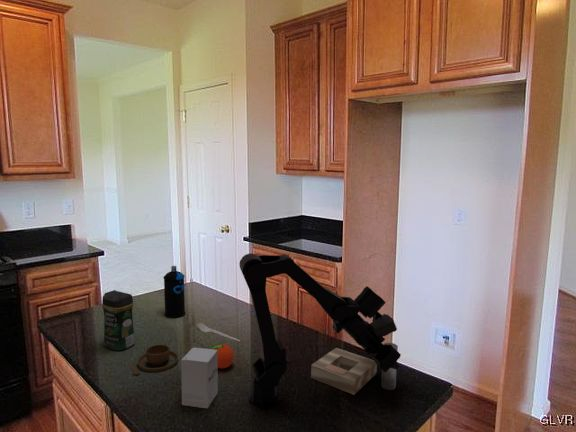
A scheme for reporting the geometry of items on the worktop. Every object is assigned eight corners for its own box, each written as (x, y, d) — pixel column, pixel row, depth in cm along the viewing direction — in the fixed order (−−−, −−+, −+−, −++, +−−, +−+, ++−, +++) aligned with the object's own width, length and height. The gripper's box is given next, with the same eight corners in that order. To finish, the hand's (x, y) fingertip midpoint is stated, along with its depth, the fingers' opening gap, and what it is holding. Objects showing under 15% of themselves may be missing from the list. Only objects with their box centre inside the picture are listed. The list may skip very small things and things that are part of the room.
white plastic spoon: (236, 344, 143) (236, 339, 142) (195, 329, 154) (195, 324, 153) (242, 341, 145) (242, 336, 145) (201, 326, 156) (201, 321, 156)
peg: (392, 391, 114) (394, 350, 112) (378, 386, 116) (380, 346, 115) (397, 385, 117) (400, 345, 115) (384, 380, 120) (386, 341, 118)
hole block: (353, 394, 112) (354, 380, 111) (311, 377, 120) (311, 364, 120) (376, 373, 123) (376, 360, 123) (335, 359, 131) (336, 347, 131)
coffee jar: (99, 346, 138) (97, 293, 135) (119, 337, 145) (117, 286, 142) (119, 353, 133) (116, 298, 131) (139, 344, 140) (137, 291, 137)
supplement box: (208, 409, 105) (207, 362, 103) (181, 405, 106) (179, 359, 104) (218, 393, 112) (218, 349, 110) (193, 389, 113) (192, 346, 112)
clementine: (208, 374, 121) (207, 351, 120) (206, 363, 128) (206, 341, 127) (235, 371, 124) (235, 348, 122) (232, 360, 130) (232, 338, 129)
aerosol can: (160, 316, 164) (158, 267, 161) (171, 309, 172) (170, 262, 169) (178, 319, 162) (177, 269, 159) (189, 312, 169) (188, 264, 167)
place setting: (176, 348, 138) (176, 332, 138) (206, 372, 123) (206, 354, 123) (123, 365, 127) (122, 347, 126) (149, 394, 112) (148, 373, 111)
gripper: (395, 321, 104) (432, 358, 108) (365, 296, 122) (397, 329, 126) (364, 353, 103) (402, 389, 107) (339, 324, 121) (372, 356, 125)
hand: (393, 363), depth 116 cm, fingers open, 5 cm apart
